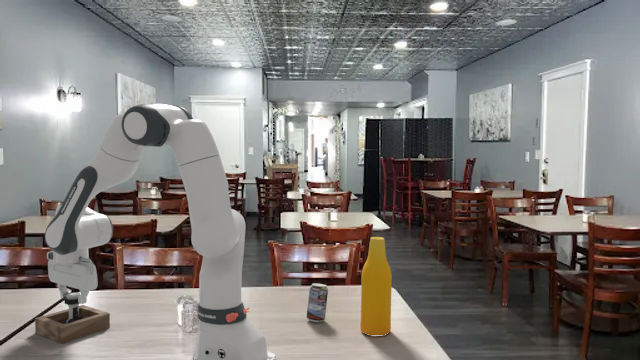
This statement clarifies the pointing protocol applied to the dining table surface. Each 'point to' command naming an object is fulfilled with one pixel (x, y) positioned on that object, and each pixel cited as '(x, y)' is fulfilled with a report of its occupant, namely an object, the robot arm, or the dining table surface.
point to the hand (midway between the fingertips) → (73, 300)
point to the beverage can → (317, 302)
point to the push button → (73, 307)
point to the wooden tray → (72, 324)
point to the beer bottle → (376, 290)
